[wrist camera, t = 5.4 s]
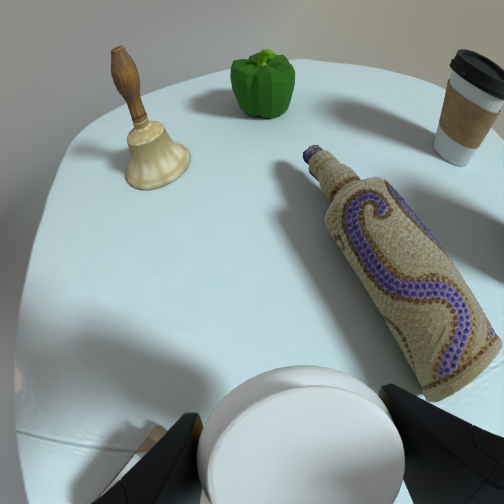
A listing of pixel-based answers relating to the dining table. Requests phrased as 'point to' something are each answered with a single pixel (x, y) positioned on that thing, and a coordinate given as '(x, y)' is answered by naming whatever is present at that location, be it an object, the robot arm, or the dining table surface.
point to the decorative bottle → (406, 278)
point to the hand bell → (146, 133)
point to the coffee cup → (468, 106)
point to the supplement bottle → (301, 442)
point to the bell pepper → (263, 83)
